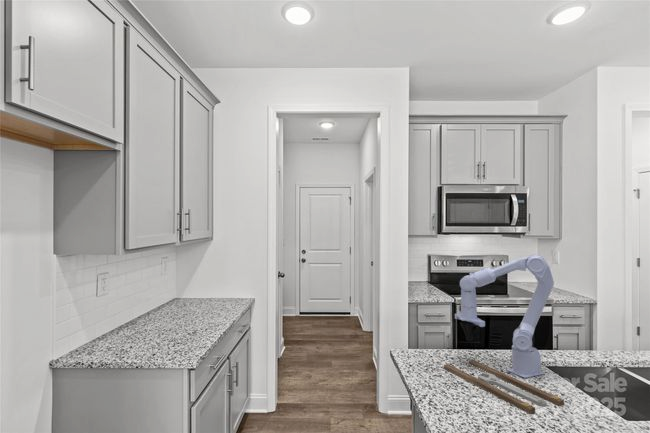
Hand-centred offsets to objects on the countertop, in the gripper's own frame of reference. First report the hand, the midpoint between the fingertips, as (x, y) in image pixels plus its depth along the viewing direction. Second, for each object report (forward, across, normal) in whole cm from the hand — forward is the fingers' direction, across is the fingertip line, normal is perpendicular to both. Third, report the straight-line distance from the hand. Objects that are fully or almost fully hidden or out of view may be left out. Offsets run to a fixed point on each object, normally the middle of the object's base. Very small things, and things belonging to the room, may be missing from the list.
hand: (469, 340), depth 147 cm
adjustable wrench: (+10, +23, -5) cm, 25 cm away
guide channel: (+9, +18, -5) cm, 21 cm away
